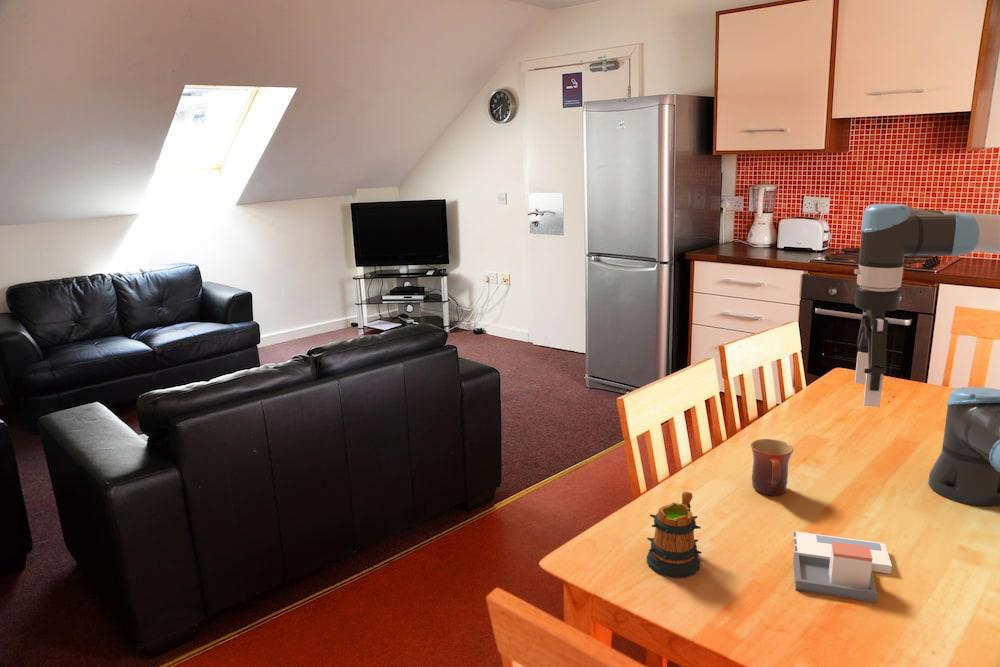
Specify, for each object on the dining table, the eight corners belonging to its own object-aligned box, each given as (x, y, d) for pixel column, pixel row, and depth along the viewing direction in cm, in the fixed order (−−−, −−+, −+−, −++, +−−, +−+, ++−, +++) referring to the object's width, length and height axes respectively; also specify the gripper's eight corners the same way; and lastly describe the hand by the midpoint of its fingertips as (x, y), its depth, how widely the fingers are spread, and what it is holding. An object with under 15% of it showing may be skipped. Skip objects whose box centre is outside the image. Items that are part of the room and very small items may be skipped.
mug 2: (745, 479, 170) (748, 437, 168) (786, 482, 169) (789, 440, 166) (752, 504, 159) (755, 459, 156) (795, 507, 157) (799, 462, 155)
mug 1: (691, 585, 131) (694, 525, 128) (636, 569, 136) (638, 511, 133) (712, 550, 142) (716, 495, 139) (661, 537, 147) (663, 483, 144)
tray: (868, 571, 134) (869, 562, 133) (876, 602, 125) (877, 593, 124) (793, 560, 138) (793, 552, 137) (795, 590, 129) (796, 580, 128)
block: (865, 577, 131) (869, 546, 130) (868, 589, 127) (872, 558, 126) (828, 571, 133) (831, 541, 131) (830, 584, 129) (833, 553, 128)
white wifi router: (884, 550, 140) (885, 542, 140) (890, 573, 133) (892, 565, 132) (793, 538, 145) (793, 530, 145) (794, 559, 138) (795, 551, 137)
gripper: (848, 275, 153) (839, 373, 158) (864, 300, 130) (853, 414, 135) (889, 276, 150) (878, 376, 156) (912, 302, 128) (899, 418, 133)
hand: (866, 394), depth 146 cm, fingers open, 13 cm apart
